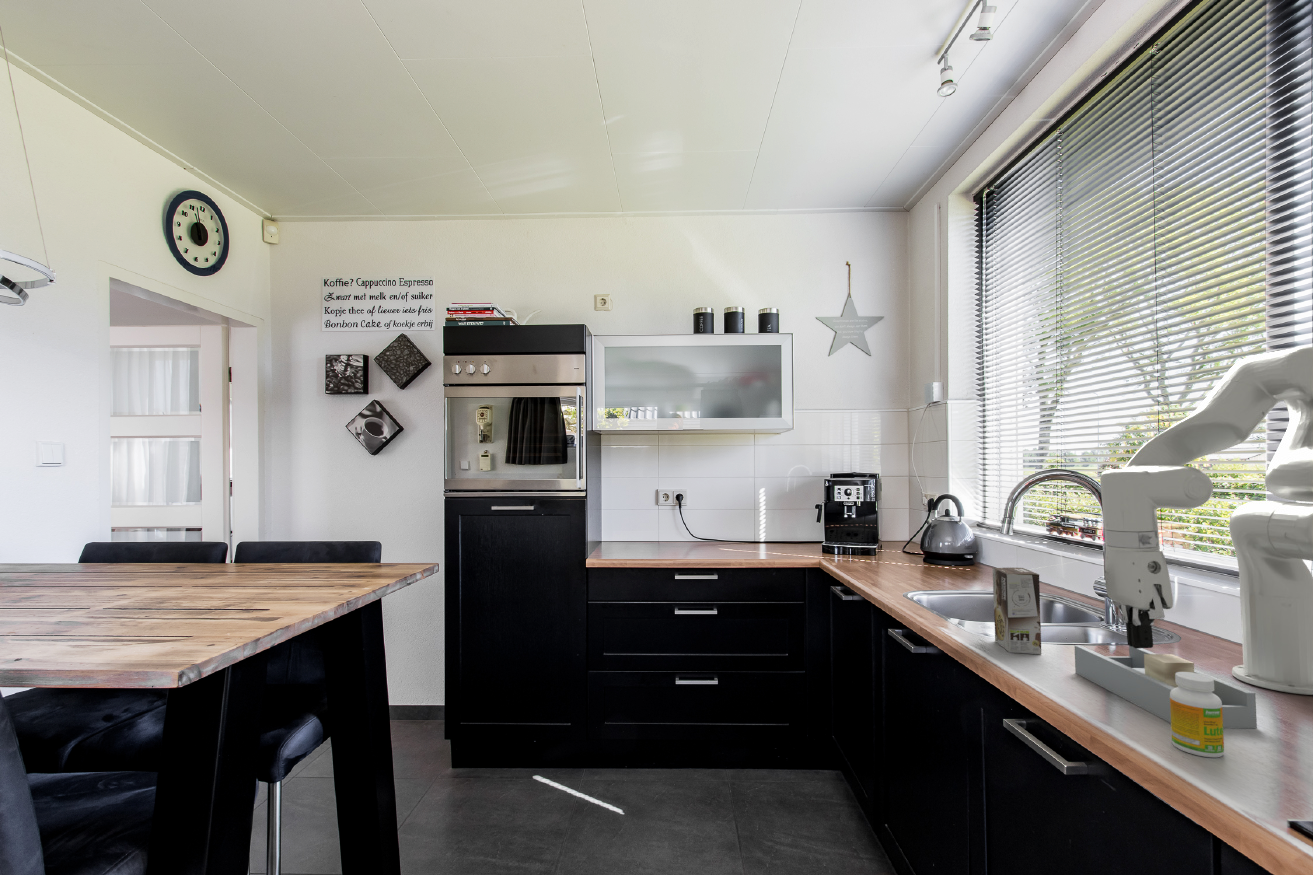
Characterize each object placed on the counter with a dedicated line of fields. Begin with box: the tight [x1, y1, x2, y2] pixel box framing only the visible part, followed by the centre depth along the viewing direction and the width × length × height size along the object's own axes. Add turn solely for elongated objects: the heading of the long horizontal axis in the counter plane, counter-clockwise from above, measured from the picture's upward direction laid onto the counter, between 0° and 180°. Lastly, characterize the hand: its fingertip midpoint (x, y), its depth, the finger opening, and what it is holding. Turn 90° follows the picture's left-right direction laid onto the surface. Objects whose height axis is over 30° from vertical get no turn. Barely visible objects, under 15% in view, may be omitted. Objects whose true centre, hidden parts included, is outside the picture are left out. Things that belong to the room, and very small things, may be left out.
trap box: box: [1074, 644, 1258, 729], centre depth 103 cm, size 11×24×5 cm, turn 178°
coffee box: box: [992, 567, 1042, 655], centre depth 132 cm, size 9×6×16 cm
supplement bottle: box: [1170, 672, 1225, 759], centre depth 85 cm, size 5×5×10 cm
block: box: [1144, 653, 1195, 688], centre depth 100 cm, size 4×4×4 cm
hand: (1140, 646), depth 108 cm, fingers closed
